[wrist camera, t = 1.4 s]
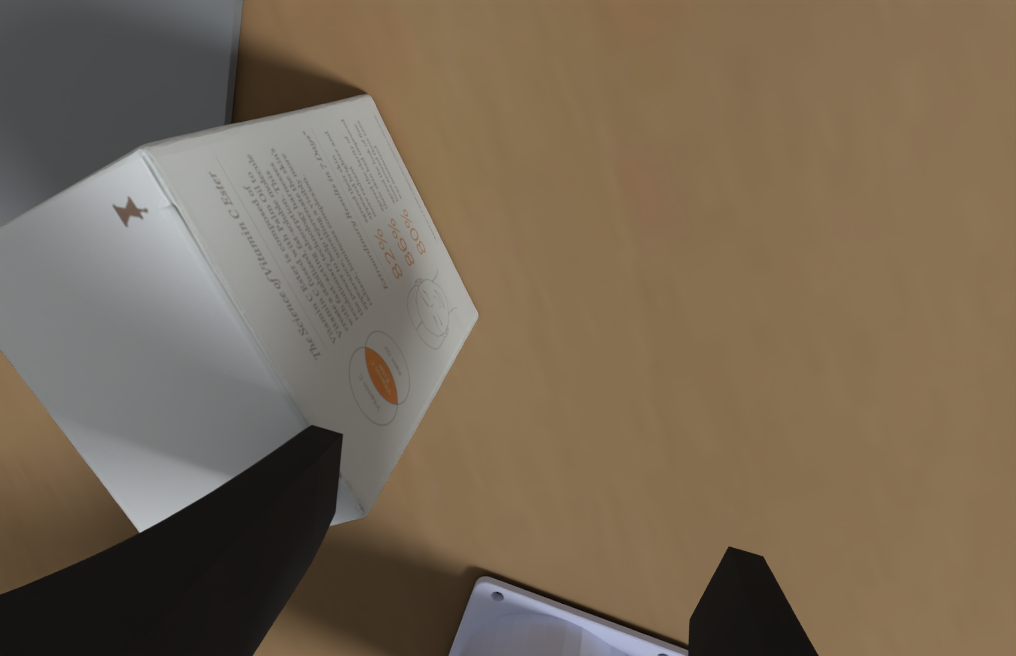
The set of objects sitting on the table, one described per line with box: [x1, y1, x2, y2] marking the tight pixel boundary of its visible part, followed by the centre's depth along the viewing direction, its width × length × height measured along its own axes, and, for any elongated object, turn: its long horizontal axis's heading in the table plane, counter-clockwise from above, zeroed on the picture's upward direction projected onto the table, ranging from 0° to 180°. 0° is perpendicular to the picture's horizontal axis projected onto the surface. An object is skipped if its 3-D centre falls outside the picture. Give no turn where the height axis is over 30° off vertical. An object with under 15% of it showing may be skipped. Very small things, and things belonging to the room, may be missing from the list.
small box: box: [0, 94, 478, 533], centre depth 17 cm, size 8×6×10 cm
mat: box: [0, 0, 243, 226], centre depth 22 cm, size 12×16×1 cm
